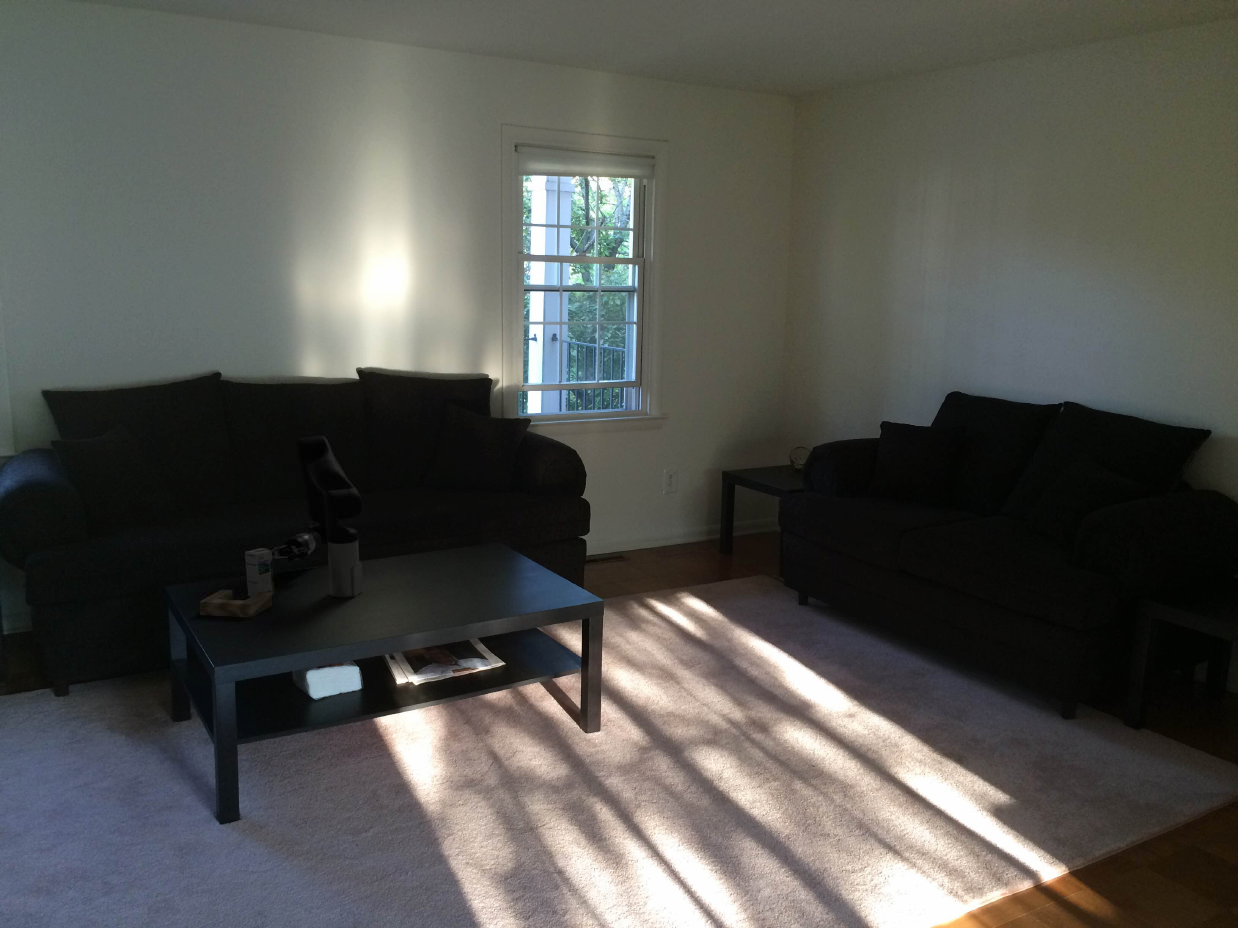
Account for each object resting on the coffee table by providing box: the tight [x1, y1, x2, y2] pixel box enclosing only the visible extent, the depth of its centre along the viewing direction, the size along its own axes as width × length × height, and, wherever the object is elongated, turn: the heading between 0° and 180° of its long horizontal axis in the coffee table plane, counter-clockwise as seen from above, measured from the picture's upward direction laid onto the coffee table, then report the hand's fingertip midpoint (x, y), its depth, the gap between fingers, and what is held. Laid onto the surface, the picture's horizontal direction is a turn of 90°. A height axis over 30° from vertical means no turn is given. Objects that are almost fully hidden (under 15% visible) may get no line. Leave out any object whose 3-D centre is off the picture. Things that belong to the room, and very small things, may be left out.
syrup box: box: [244, 547, 275, 598], centre depth 306 cm, size 6×6×14 cm
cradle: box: [199, 589, 273, 619], centre depth 293 cm, size 16×12×4 cm
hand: (276, 558), depth 316 cm, fingers open, 8 cm apart
